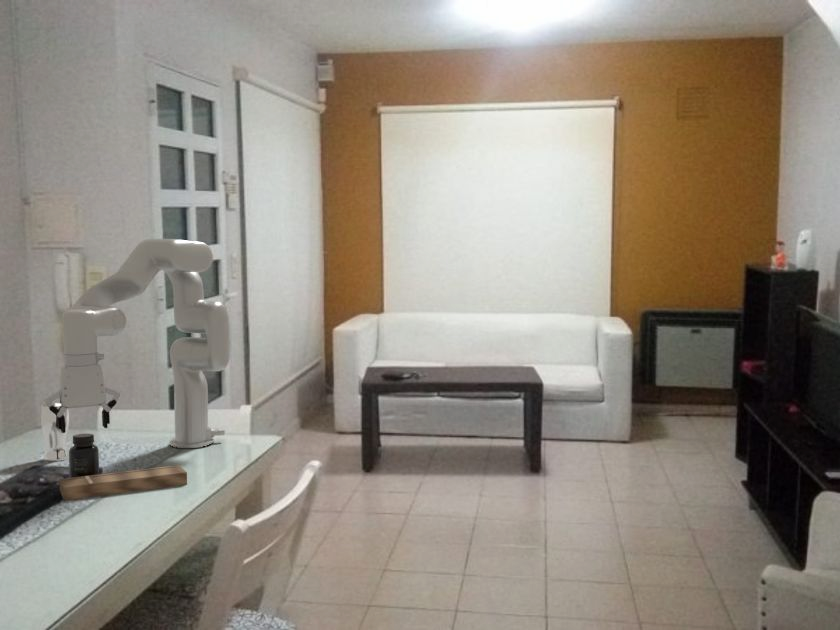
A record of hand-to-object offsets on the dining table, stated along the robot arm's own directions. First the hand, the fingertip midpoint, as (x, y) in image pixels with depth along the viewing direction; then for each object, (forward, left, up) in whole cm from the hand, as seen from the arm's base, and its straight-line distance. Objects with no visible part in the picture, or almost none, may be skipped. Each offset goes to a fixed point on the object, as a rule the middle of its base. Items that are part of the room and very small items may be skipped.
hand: (84, 429), depth 207 cm
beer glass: (+3, -29, -14) cm, 32 cm away
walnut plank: (-8, +9, -13) cm, 18 cm away
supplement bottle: (0, 0, -14) cm, 14 cm away
